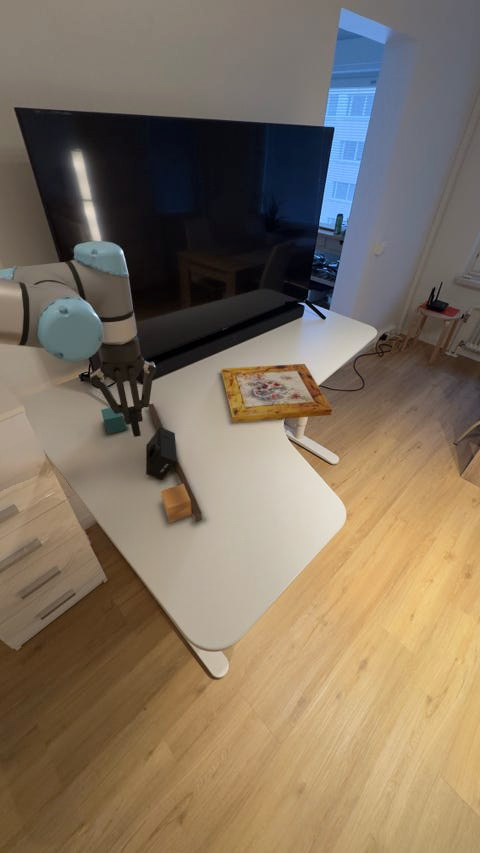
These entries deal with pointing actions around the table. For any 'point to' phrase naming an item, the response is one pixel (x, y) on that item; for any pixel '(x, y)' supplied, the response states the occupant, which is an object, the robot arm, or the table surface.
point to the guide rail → (178, 470)
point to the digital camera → (161, 453)
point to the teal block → (113, 421)
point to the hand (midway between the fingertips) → (136, 432)
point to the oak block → (176, 502)
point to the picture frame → (272, 393)
